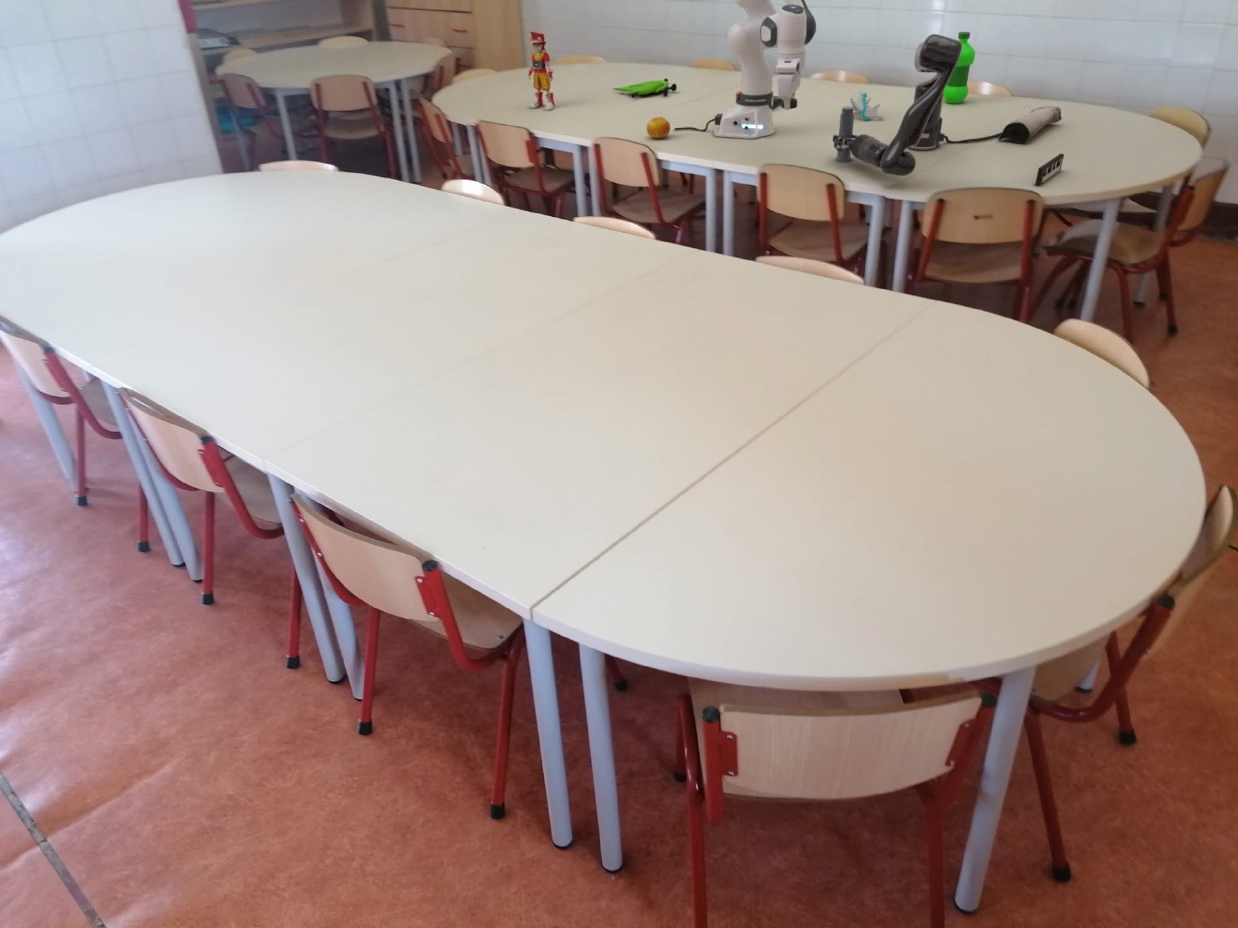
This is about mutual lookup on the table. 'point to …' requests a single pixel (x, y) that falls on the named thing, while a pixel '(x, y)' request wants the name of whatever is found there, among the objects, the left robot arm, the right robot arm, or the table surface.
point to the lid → (793, 103)
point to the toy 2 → (648, 88)
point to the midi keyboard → (1049, 169)
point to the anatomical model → (864, 106)
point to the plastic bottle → (960, 72)
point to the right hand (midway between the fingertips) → (840, 137)
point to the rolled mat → (1030, 124)
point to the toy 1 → (541, 71)
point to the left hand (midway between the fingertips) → (789, 107)
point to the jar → (845, 131)
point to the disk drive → (776, 101)
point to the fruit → (658, 127)
